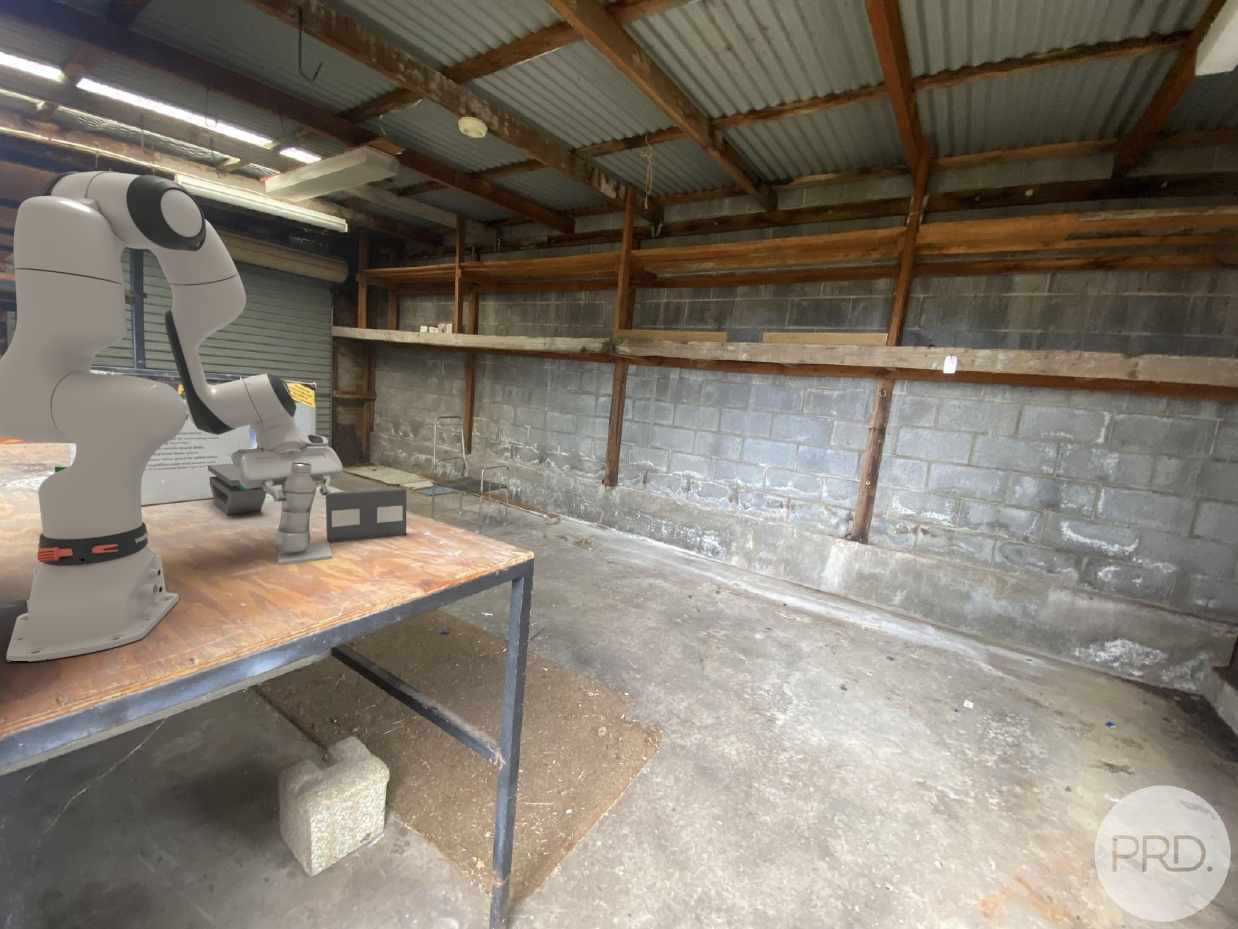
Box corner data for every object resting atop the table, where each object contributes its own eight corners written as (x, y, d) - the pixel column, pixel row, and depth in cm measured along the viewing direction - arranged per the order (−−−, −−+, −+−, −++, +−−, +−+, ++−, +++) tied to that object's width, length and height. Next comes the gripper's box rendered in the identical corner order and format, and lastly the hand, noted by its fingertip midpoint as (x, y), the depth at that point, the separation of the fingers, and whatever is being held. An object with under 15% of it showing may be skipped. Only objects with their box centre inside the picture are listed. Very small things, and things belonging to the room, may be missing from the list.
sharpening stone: (210, 501, 148) (207, 465, 147) (242, 497, 154) (240, 463, 153) (233, 520, 133) (231, 480, 131) (268, 515, 139) (266, 477, 137)
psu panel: (406, 534, 131) (406, 490, 129) (327, 543, 121) (326, 495, 119) (404, 532, 133) (404, 488, 131) (326, 540, 123) (325, 492, 121)
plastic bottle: (275, 547, 113) (285, 460, 112) (310, 548, 116) (320, 463, 115) (270, 555, 107) (280, 463, 106) (307, 556, 110) (317, 466, 109)
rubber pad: (332, 558, 112) (332, 555, 112) (278, 564, 106) (278, 562, 106) (327, 543, 121) (327, 541, 121) (277, 548, 115) (277, 546, 115)
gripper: (231, 441, 105) (252, 495, 101) (333, 437, 121) (354, 483, 118) (225, 459, 108) (245, 512, 104) (325, 452, 125) (345, 498, 121)
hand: (303, 496), depth 111 cm, fingers open, 8 cm apart
